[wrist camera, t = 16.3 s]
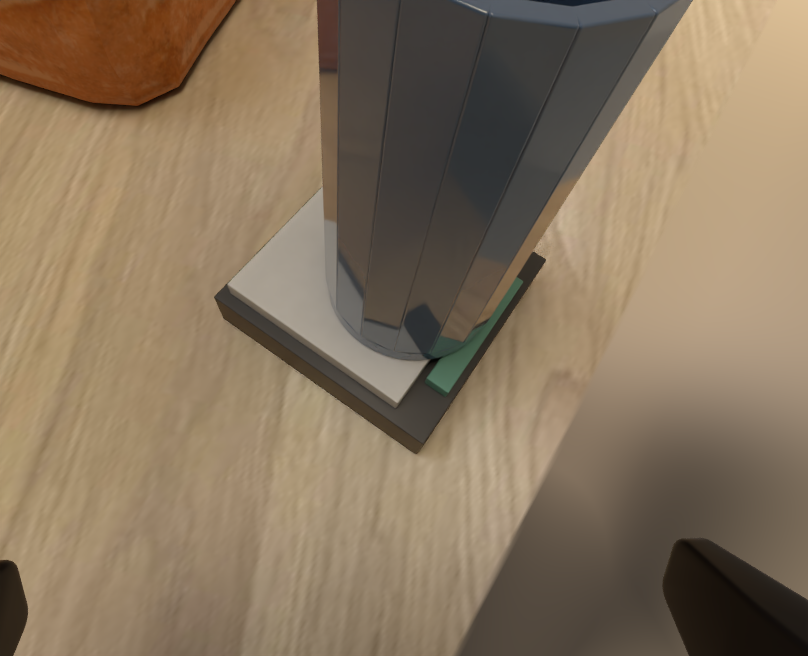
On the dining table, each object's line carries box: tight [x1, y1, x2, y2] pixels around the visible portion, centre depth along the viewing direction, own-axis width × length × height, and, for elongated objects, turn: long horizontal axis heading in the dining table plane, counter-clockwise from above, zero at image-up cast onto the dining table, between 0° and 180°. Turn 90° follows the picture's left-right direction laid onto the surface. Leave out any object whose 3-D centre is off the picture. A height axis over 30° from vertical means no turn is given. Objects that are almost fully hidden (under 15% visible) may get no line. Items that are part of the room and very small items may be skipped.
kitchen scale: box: [214, 186, 546, 454], centre depth 23 cm, size 10×10×3 cm
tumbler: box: [317, 0, 693, 360], centre depth 15 cm, size 7×7×14 cm
